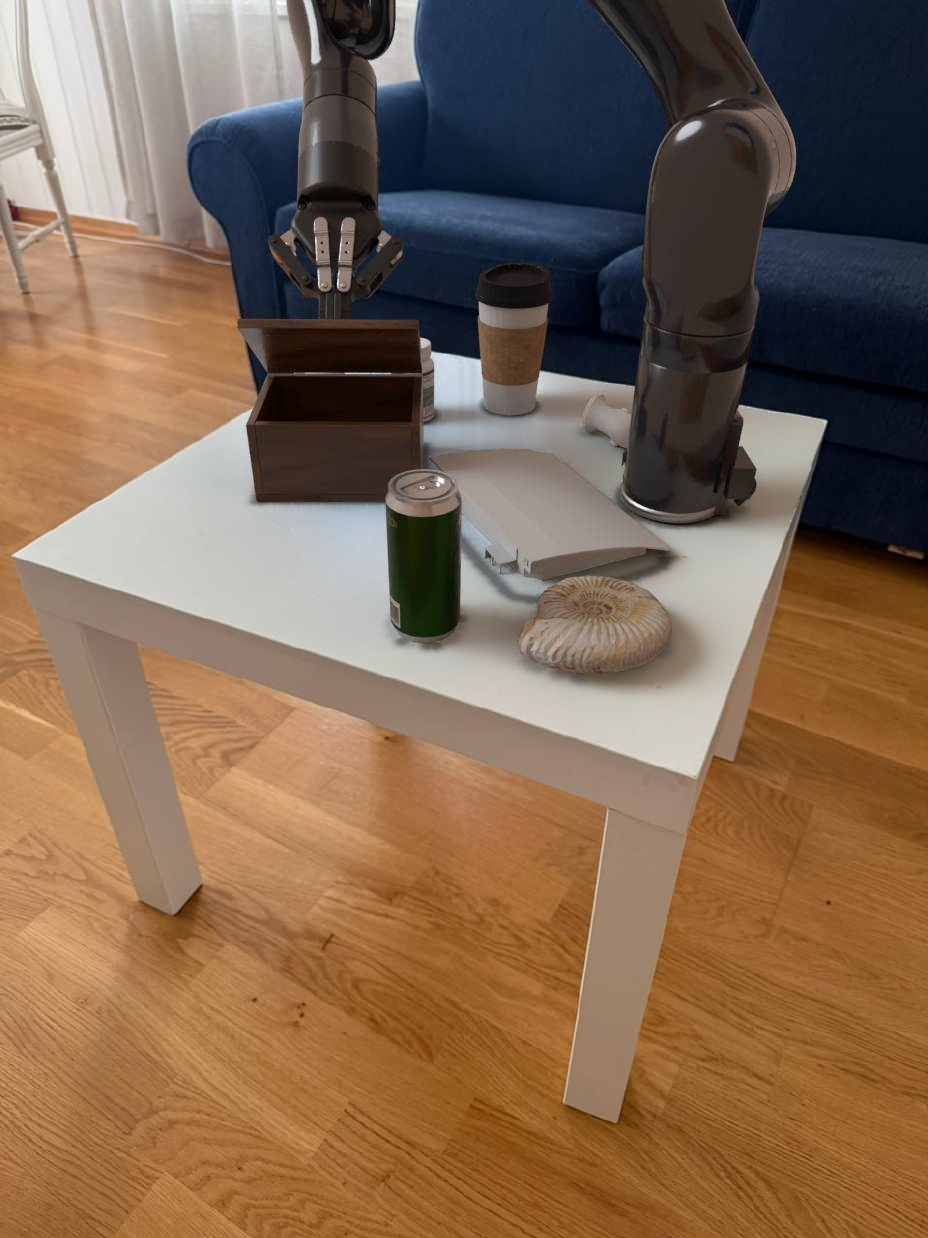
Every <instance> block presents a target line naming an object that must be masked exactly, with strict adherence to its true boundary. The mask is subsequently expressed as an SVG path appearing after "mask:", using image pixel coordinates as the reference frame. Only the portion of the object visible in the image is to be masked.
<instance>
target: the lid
mask: <svg viewBox="0 0 928 1238" xmlns="http://www.w3.org/2000/svg"><path fill="white" fill-rule="evenodd" d="M236 329H237V330H238V332H239V333H240V334H241V336H242V337H243V339H244V340H245V342H246V343H247V345H248V346H249V348H250V349H251V351H252V352H253V354H254V355H255V356H256V359H258V361H259V362H260V364H261V366H262V367H263V368H264V370H265V371H266V373H267V374H294V373H345V374H391V373H423V365H422V353H421V341H420V338H421V331H420V330H421V329H420V321H419V319H351V320H339V319H319V318H318V319H317V318H316V319H312V318H311V319H309V318H307V319H306V318H301V319H300V318H291V319H290V318H236Z"/></svg>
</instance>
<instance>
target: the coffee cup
mask: <svg viewBox="0 0 928 1238" xmlns="http://www.w3.org/2000/svg"><path fill="white" fill-rule="evenodd" d="M474 298H475V300H477V301H478V313H479V314H478V316H477V327H478V340H479V341H478V343H479V354H480V355H479V356H480V367H481V378H482V397H483V407H484V408H485V410H487V411H488V412H490V413H492V414H496V415H499V416H511V417H512V416H521V415H526V414H528V413H530V412H532V411H533V410H534V409H535V407H536V406H535V405H536V400H537V392H538V391H537V390H538V385H539V378H540V372H541V367H542V361H543V355H544V348H545V342H546V337H547V329H548V324H549V323H548V322H549V318H548V309H549V304H550V303H552V301H553V299H554V297H553V289H552V288H551V273H550V270H549V269H548V268H546V267H545V266H542V265H539V264H536V263H530V262H505V263H500V264H497V265H494V266H491V267H489V268H486V269H485V270H483V271H482V272H481V273H480V275H479V279H478V284H477V286H476V288H475V295H474Z"/></svg>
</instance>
